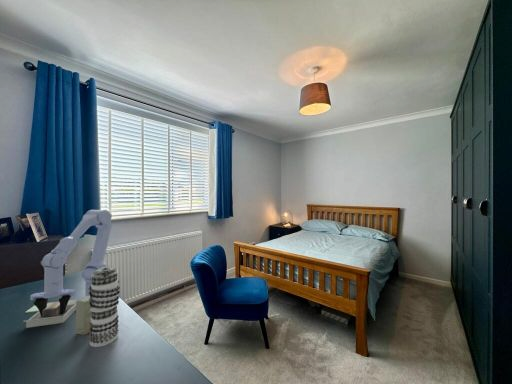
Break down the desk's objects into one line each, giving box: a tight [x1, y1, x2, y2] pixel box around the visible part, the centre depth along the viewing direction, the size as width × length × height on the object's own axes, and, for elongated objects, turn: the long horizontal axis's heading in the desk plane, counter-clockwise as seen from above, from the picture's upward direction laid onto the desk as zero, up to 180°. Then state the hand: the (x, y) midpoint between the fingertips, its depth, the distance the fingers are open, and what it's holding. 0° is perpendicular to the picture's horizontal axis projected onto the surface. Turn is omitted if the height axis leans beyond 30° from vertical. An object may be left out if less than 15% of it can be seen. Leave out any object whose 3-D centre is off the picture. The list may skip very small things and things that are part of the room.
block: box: [41, 301, 63, 318], centre depth 91 cm, size 4×7×5 cm, turn 17°
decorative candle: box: [88, 266, 121, 348], centre depth 78 cm, size 9×9×25 cm
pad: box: [24, 304, 39, 314], centre depth 99 cm, size 7×7×1 cm
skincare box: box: [75, 295, 92, 336], centre depth 83 cm, size 6×4×12 cm
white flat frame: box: [22, 298, 80, 329], centre depth 91 cm, size 12×14×4 cm
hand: (53, 314), depth 91 cm, fingers open, 6 cm apart
